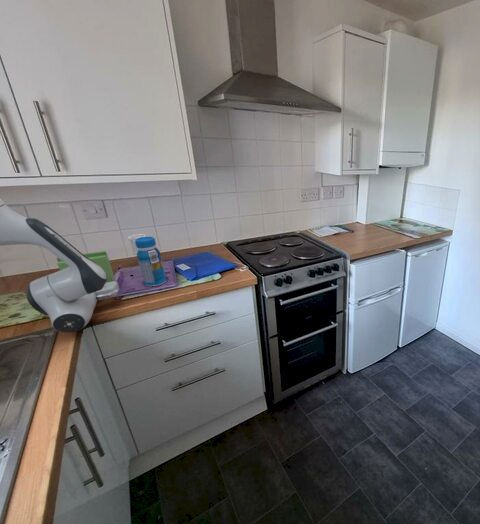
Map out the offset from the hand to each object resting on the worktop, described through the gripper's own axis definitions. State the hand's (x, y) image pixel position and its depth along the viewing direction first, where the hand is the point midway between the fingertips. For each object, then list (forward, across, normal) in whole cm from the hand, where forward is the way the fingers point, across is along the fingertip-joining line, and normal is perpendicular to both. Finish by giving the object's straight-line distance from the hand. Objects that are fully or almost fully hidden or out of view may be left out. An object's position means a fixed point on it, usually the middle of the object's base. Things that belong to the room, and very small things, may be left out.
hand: (86, 285), depth 112 cm
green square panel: (+8, 0, +6) cm, 11 cm away
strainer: (+36, -16, +7) cm, 40 cm away
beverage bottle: (+6, -21, +7) cm, 23 cm away
